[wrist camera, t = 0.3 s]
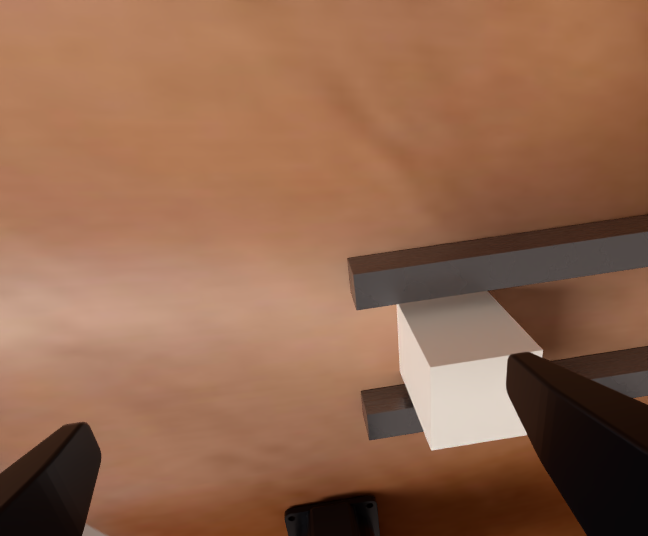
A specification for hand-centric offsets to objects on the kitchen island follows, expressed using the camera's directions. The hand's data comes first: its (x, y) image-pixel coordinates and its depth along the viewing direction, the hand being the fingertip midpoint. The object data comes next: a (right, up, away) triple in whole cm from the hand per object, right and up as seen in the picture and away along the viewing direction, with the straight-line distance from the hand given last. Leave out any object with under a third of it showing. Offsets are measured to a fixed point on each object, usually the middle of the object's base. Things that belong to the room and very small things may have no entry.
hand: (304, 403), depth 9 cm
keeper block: (+7, -1, +16) cm, 17 cm away
